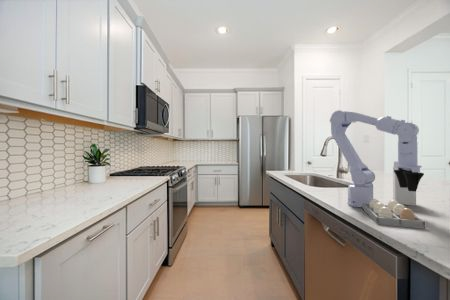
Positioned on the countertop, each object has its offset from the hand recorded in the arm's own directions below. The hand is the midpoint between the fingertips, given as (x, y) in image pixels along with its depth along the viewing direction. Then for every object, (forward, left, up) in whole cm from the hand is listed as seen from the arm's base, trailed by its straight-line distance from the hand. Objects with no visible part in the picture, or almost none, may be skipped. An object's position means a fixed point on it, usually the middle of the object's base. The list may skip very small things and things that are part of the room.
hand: (407, 189), depth 83 cm
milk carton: (+5, +18, -10) cm, 21 cm away
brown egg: (-5, -14, -9) cm, 17 cm away
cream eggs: (-8, -8, -9) cm, 14 cm away
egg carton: (-8, -8, -9) cm, 14 cm away
